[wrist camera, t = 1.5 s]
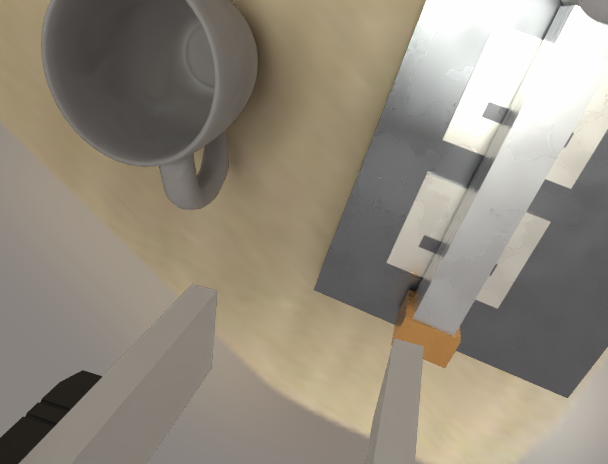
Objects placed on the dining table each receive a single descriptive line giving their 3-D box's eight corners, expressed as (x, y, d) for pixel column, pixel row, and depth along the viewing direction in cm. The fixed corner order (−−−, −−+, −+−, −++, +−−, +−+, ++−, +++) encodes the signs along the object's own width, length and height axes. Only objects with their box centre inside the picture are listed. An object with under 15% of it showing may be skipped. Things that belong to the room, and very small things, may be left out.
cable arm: (587, -80, 21) (611, -96, 18) (671, -53, 21) (710, -65, 18) (393, 313, 31) (387, 346, 28) (448, 337, 31) (448, 373, 28)
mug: (135, -12, 30) (10, -24, 21) (273, -40, 27) (193, -66, 19) (181, 180, 34) (92, 234, 26) (304, 171, 32) (250, 228, 23)
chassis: (320, 275, 34) (312, 292, 32) (461, -86, 24) (463, -96, 22) (561, 377, 32) (569, 402, 30) (818, 32, 23) (856, 33, 20)
